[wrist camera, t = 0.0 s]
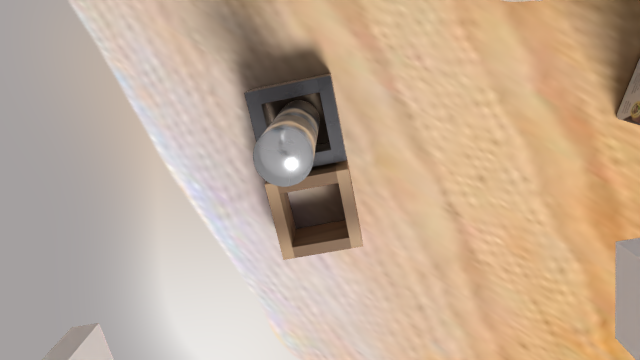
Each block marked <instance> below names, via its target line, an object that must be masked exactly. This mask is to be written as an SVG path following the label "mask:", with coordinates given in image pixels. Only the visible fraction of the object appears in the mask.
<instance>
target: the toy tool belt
mask: <svg viewBox="0 0 640 360" xmlns="http://www.w3.org/2000/svg"><path fill="white" fill-rule="evenodd" d="M503 1H509V2H522V1H533V0H503ZM535 1H542V0H535Z"/></svg>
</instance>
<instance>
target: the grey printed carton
mask: <svg viewBox="0 0 640 360" xmlns="http://www.w3.org/2000/svg"><path fill="white" fill-rule="evenodd" d="M617 118H618V119H620V120H624V121H627V122H631V123H634V124H638V125H640V59H639V61H638V64H637V66H636V69H635V71H634V74H633V76H632V78H631V81H630V83H629V86H628V88H627V91H626V93H625V95H624V98H623V100H622V103H621V105H620V108H619V110H618V113H617Z"/></svg>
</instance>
